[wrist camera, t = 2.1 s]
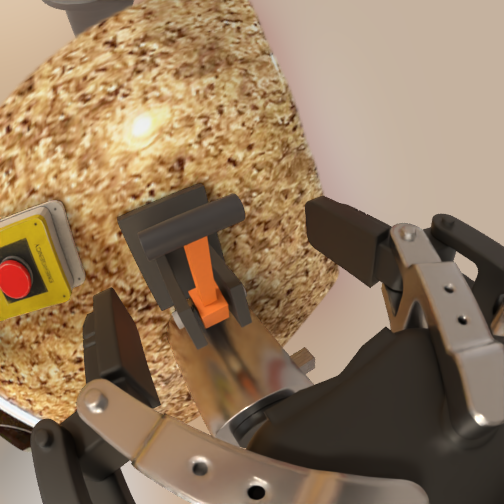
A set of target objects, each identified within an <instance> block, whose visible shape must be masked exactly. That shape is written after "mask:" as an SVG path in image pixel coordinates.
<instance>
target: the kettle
mask: <svg viewBox="0 0 504 504" xmlns="http://www.w3.org/2000/svg"><path fill="white" fill-rule="evenodd" d="M187 302H188V304H189V305H190V307H191V309H192V312H193V314H194V316H195V318H196V320H197V322H198V324H199V326H200V328H201V330H202V332H203V334H204V336H205V338H206V340H207V342H208V345H207V346H205V347H203V348H201V349H199V350H197V348H196V346H195V345H194V343H193V341H192V339H191V338H190V336H189V334H188V332H187V330H186V329H185V327H183V328H181V329H179V328H178V326H177V324H176V322H175V320H174V318H173V316H172V317H171V318H170V320H169V323H168V326H167V339H168V342H169V344H170V347H171V349H172V352H173V354H174V357H175V359H176V362H177V364H178V366H179V369H180V371H181V373H182V376H183V378H184V380H185V383H186V385H187V387H188V389H189V391H190V394H191V396H192V398H193V400H194V402H195V404H196V406H197V408H198V410H199V412H200V414H201V416H202V418H203V420H204V422H205V424H206V426H207V428H208V430H209V432H210V434H211V436H213V437H216V438H218V439H220V440H223V441H225V442H227V443H230V444H232V445H235V446H238V447H242V448H247V446H248V444H249V442H250V440H251V438H252V437H253V435H254V434H255V433H256V431H257V430H258V429H259V428H260V427H261V426H262V425H263V424H264V423H265V422H266V421H267V418H266V415H265V413H264V411H265V410H267V409H269V408H271V407H272V406H274V405H276V404H278V403H279V402H281V401H283V400H284V399H286V398H288V397H289V396H291V395H293V394H294V393H296V392H297V391H299V390H302V389H305V388H307V387H310V386H313V385H314V384H313V383H312V382H311V381H310V379H309V378H308V377H307V376H306V375H305V374H306V373H308V372H309V371H311V370H313V369H314V368H315V358H314V357H313V355H312V354H311V353H310V352H309V351H308V350H307V349H306V348H305V347H304V348H303V349H301V350H299V351H298V352H296V353H294V354H293V355H291V356H289V355H288V354H287V352H286V351H285V350H284V349H283V348H282V346H281V345H280V344H279V343H278V342H277V340H276V339H275V338H274V337H273V336H272V334H271V333H270V332H269V331H268V329H267V328H266V327H265V326H264V325H263V323H262V322H261V321H260V320H259V318H258V317H257V316H256V315H255V313H254V312H253V311H252V310H251V309H250V307H249V306H248V308H249V311H250V315H251V319H252V323H250V324H248V325H246V326H244V327H243V328H242V327H241V326H240V324H239V323H238V322H237V320H236V319H235V317H234V316H233V315H232V313H231V312H230V310H229V318H227V319H225V320H223V321H221V322H219V323H217V324H214V325H212V326H210V327H208V328H205V326H204V325H203V323H202V321H201V319H200V317H199V315H198V313H197V311H196V309H195V307H194V305H193V303H192V300H191V298H190V299H188V300H187Z"/></svg>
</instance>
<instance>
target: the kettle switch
mask: <svg viewBox="0 0 504 504" xmlns="http://www.w3.org/2000/svg"><path fill="white" fill-rule="evenodd" d="M244 219H245V211H244V207H243V205H242V202H241V201H240V199H239V197H238V196H237V195H236V194H230V195H227V196H225V197H222V198H220V199H217V200H214V201H212V202H209V203H207V204H204V205H202V206H199V207H197V208H194V209H192V210H189V211H187V212H185V213H182V214H180V215H177V216H175V217H173V218H170V219H168V220H165V221H163V222H161V223H159V224H156V225H154V226H152V227H149V228H147V229H145V230H143V231H140V232H138V238H139V240H140V243H141V245H142V248H143V250H144V253H145V255H146V257H147V259H148V261H152V260H154V259H156V258H158V257H161V256H163V255H165V254H167V253H170V252H172V251H174V250H176V249H179V248H181V247H183V246H184V249H185V253H186V256H187V260H188V263H189V266H190V270H191V273H192V276H193V280H194V283H195V286H196V288H195V289H192V290H190V291H188V292H189V295H190V298H191V300H192V303H193V305H194V307H195V309H196V311H197V313H198V315H199V317H200V319H201V321H202V323H203V325H204V326H205V328H208V327H210V326H212V325H214V324H217V323H219V322H221V321H223V320H225V319H227V318H229V307H228V303H227V301H226V300H225V298H224V296H223V295H222V293H221V291H220V289H219V287H218V286H217V284H216V282H215V280H214V277H213V271H212V265H211V258H210V252H209V245H208V238H207V236H208V235H211V234H213V233H215V232H218V231H220V230H222V229H225V228H227V227H229V226H232V225H234V224H236V223H239V222H241V221H243V220H244Z"/></svg>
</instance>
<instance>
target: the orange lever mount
mask: <svg viewBox="0 0 504 504" xmlns="http://www.w3.org/2000/svg"><path fill="white" fill-rule="evenodd" d="M207 203H208V199H207V195H206V192H205V188H204V186H203V185H202V184H201V183H199V184H197V185H194V186H191V187H189V188H186V189H183V190H181V191H178V192H176V193H173V194H171V195H168V196H166V197H163V198H161V199H158V200H156V201H154V202H151V203H149V204H147V205H144V206H142V207H140V208H137V209H135V210H133V211H131V212H128V213H126V214H124V215H122V216H119V217H117V221H118V224H119V226H120V229H121V231H122V233H123V235H124V238H125V240H126V242H127V244H128V246H129V248H130V251H131V253H132V255H133V257H134V259H135V261H136V263H137V265H138V267H139V269H140V271H141V273H142V275H143V277H144V279H145V281H146V283H147V285H148V287H149V289H150V290H151V292H152V294H153V296H154V298H155V300H156V302H157V303H158V305H159V307H160V309H161V311H163V310H165V309H167V308H169V307H171V306H174V307H175V309H176V311H175V312H173V313H172V316H173V318H174V320H175V322H176V324H177V326H178V328H179V329H181V328H183V327H185V329H186V330H187V332H188V334H189V336H190V338H191V339H192V341H193V343H194V345H195V346H196V348H197V350H199V349H201V348H203V347H205V346H207V345H208V342H207V340H206V338H205V336H204V334H203V332H202V330H201V328H200V326H199V324H198V322H197V320H196V318H195V316H194V314H193V312H192V309H191V307H190V305H189V304H188V302H187V300H186V299H188V298H190V295H189V292H188V291H190V290H192V289H195V288H196V286H195V283H194V280H193V276H192V273H191V270H190V266H189V263H188V260H187V256H186V253H185V249H184V246H183V247H181V248H179V249H176V250H174V251H172V252H170V253H167V254H165V255H163V256H161V257H158V258H156V259H154V260H152V261H148V259H147V257H146V255H145V253H144V250H143V248H142V245H141V243H140V240H139V238H138V232H140V231H143V230H145V229H147V228H149V227H152V226H154V225H156V224H159V223H161V222H163V221H165V220H168V219H170V218H173V217H175V216H177V215H180V214H182V213H185V212H187V211H189V210H192V209H194V208H197V207H199V206H202V205H204V204H207ZM207 238H208V245H209V252H210V258H211V265H212V271H213V277H214V280H215V282H216V284H217V286H218V287H219V289H220V291H221V293H222V295H223V296H224V298H225V300H226V301H227V303H228V307H229V310H230V312H231V313H232V315H233V316H234V317H235V319H236V320H237V322H238V323H239V324H240V326H241V327H242V328H243V327H244V326H246V325H248V324H250V323H252V319H251V315H250V311H249V308H248V304H247V300H246V296H247V293H246V290H245V288H244V286H243V284H242V283H241V282H240V280H239V279H238V278H237V277H236V276H235V274H234V273H233V272H232V271H231V270H230V268H229V267H228V266H227V265H226V264H225V260H224V257H223V253H222V250H221V246H220V243H219V239H218V236H217V232H215V233H213V234H211V235H208V236H207Z"/></svg>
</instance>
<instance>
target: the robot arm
mask: <svg viewBox="0 0 504 504" xmlns="http://www.w3.org/2000/svg"><path fill="white" fill-rule="evenodd" d="M305 214H306V227H307V237H308V240H309V242H310V244H311V245H312V246H313V247H314V248H315V249H316V250H318V251H319V252H321V253H322V254H324V255H325V256H326V257H328V258H329V259H331V260H332V261H333V262H335V263H336V264H338V265H339V266H341V267H342V268H344V269H345V270H347V271H348V272H349V273H350V274H352V275H353V276H355V277H356V278H357V279H359V280H360V281H361V282H363V283H364V284H366V285H367V286H368V287H370V288H371V287H372V286H373V285H375V284H376V283H377V282H379V281H381V282H382V288H381V289H382V293H383V297H384V301H385V305H386V309H387V312H388V317H389V320H390V327H391V330H389V329H388V328H387V327H385V328H383V329H382V330H381V331H380V332H379V333H378V334H376V335H375V336H374V337H373V338H371V339H370V340H369V341H368V342H367V343H365V344H364V345H363V346H362V347H361V348H360V349H359V351H358V352H357V353H356V355H355V356H354V357H353V359H352V360H351V361H350V363H349V364H348V365H347V366H346V368H345V369H344V370H343V371H342V372H341V373H340V374H339V375H338V376H336V377H333V378H331V379H329V380H326V381H324V382H321V383H318V384H316V385H313V386H310V387H307V388H305V389H302V390H299V391H297V392H296V393H294V394H293V395H291V396H289V397H288V398H286V399H284V400H283V401H281V402H279V403H278V404H276V405H274V406H272V407H271V408H269V409H267V410H265V411H264V413H265V415H266V418H267V421H266V422H265V423H264V424H263V425H262V426H261V427H260V428H259V429H258V430H257V431H256V433H255V434H254V435H253V437H252V438H251V440H250V442H249V444H248V446H247V448H246V449H243V448H240V447H238V446H235V445H232V444H230V443H227V442H225V441H223V440H220V439H218V438H216V437H213V436H211V435H209V434H206V433H204V432H202V431H200V430H198V429H195V428H193V427H191V426H189V425H187V424H185V423H183V422H181V421H179V420H178V419H176V418H174V417H172V416H169V415H167V414H164V415H163V414H160V413H159V412H157V411H155V410H153V408H155V407H157V406H160V405H161V403H160V401H159V398H158V395H157V392H156V389H155V386H154V383H153V380H152V377H151V374H150V371H149V368H148V365H147V361H146V358H145V354H144V351H143V347H142V344H141V340H140V336H139V333H138V330H137V327H136V325H135V323H134V321H133V319H132V317H131V316H130V314H129V313H128V311H127V310H126V308H125V306H124V305H123V303H122V302H121V300H120V299H119V297H118V295H117V294H116V292H115V291H114V289H113V288H109V289H107V290H105V291H102V292H100V293H98V294H96V295H94V296H93V309H94V312H92V313H90V314H87V317H86V319H85V322H84V325H83V339H84V340H83V348H84V365H85V377H86V385H85V386H84V387H83V388H82V390H81V391H80V393H79V395H78V398H77V411H76V412H75V413H73V414H72V415H71V416H70V417H68V418H67V419H66V420H65V421H63V422H62V423H61V424H58V423H56V422H55V421H53V420H51V419H43V420H41V421H39V422H38V423H37V424H36V425H35V427H34V429H33V431H32V434H31V449H32V456H33V462H34V467H35V473H36V478H37V482H38V486H39V490H40V494H41V498H42V502H43V504H136V503H135V501H134V499H133V497H132V495H131V493H130V490H129V488H128V486H127V483H126V481H125V479H124V476H123V474H122V471H121V469H120V467H121V466H123V465H124V464H125V463H127V462H128V461H129V460H131V461H132V463H131V464H132V465H133V466H134V467H135V468H136V469H137V470H138V471H140V472H141V473H142V474H144V475H145V476H147V477H148V478H150V479H151V480H153V481H154V482H156V483H158V484H159V485H161V486H162V487H164V488H166V489H167V490H169V491H170V492H172V493H174V494H175V495H177V496H179V497H181V498H183V499H184V500H186V501H188V502H190V503H192V504H504V247H503V246H502V245H500V244H499V243H497V242H496V241H494V240H493V239H491V238H489V237H488V236H486V235H485V234H483V233H481V232H479V231H478V230H476V229H474V228H473V227H471V226H469V225H467V224H466V223H464V222H462V221H460V220H459V219H457V218H455V217H453V216H451V215H447V214H437V215H435V216H433V219H432V224H431V227H430V228H427V229H423V230H422V229H421V228H419V227H417V226H415V225H412V224H408V223H400V224H396V225H394V226H393V227H391V226H389V225H388V224H386V223H384V222H382V221H380V220H378V219H376V218H374V217H372V216H370V215H368V214H367V215H366V214H365V213H364V212H362V211H358V210H357V209H355V208H353V207H351V206H349V205H346V204H341V203H338V202H336V201H334V200H332V199H330V198H327V197H325V196H320V197H318V198H315V199H313V200H310V201H308V202H307V203H306V204H305ZM456 251H457V252H459V253H460V254H462V255H463V256H465V257H467V258H468V259H469V260H471V261H473V262H474V263H475V264H476V266H477V268H478V275H477V278H476V280H475V282H474V281H473V280H471V279H470V278H468V277H467V276H466V275H464V274H463V273H461V271H460V269H459V268H458V266H457V264H456V263H455V262H454V261H453V260H454V257H455V254H456Z"/></svg>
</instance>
